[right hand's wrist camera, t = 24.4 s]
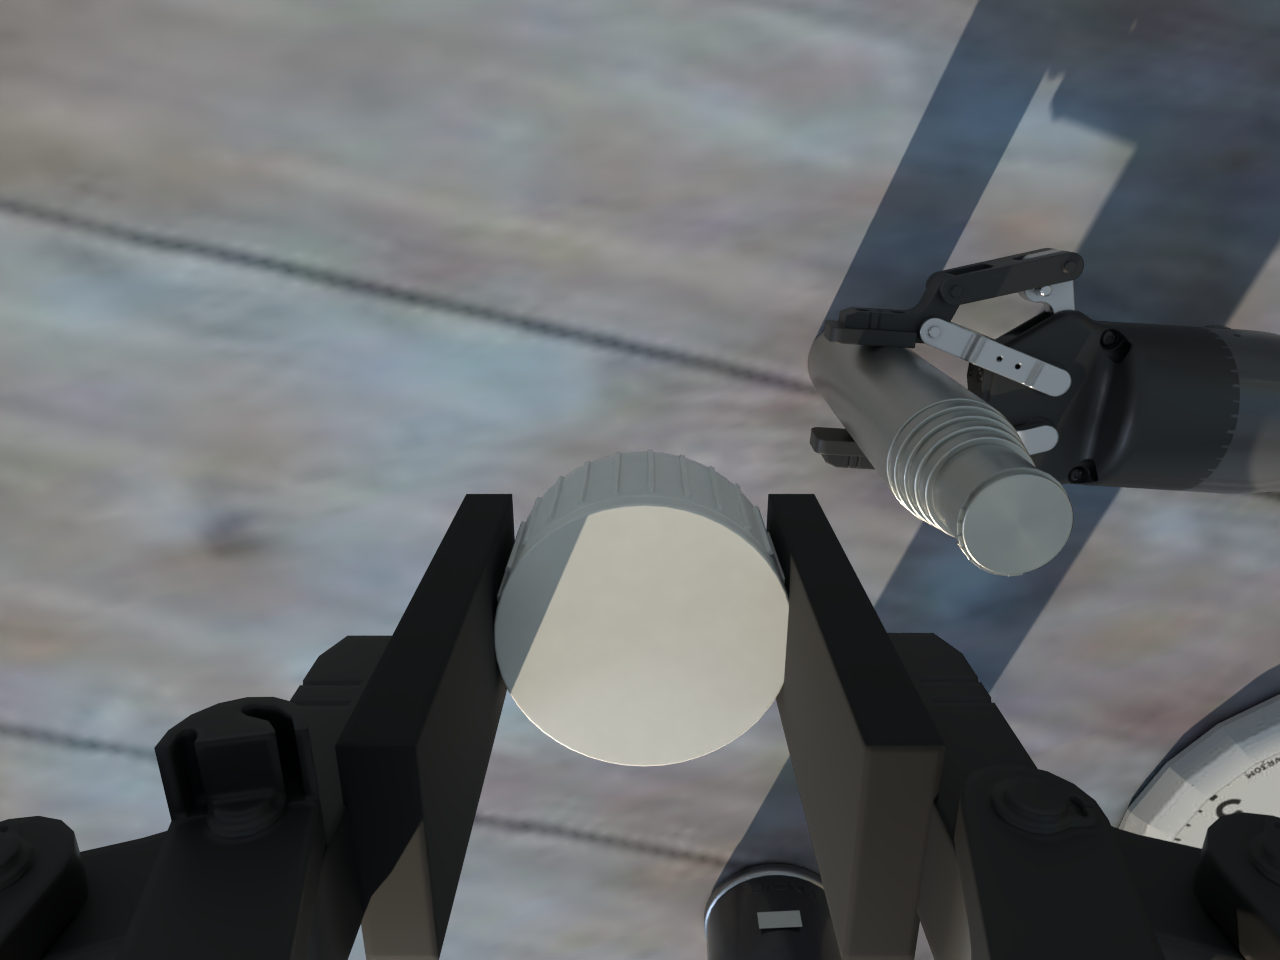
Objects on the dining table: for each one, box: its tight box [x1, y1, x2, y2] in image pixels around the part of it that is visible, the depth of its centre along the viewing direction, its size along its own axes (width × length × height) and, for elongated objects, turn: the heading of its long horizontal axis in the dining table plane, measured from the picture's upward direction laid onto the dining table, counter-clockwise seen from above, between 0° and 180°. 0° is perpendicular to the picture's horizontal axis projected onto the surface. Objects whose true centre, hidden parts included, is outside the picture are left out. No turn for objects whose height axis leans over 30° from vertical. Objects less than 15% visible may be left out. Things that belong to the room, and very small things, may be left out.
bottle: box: [808, 331, 1073, 577], centre depth 35 cm, size 4×4×23 cm
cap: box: [494, 450, 789, 766], centre depth 13 cm, size 4×4×2 cm
